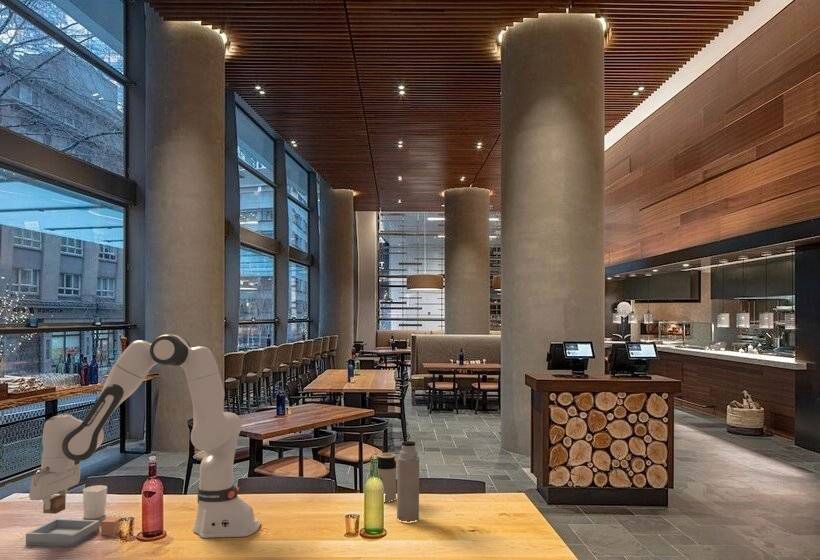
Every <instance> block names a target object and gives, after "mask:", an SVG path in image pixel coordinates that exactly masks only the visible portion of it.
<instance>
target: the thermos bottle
mask: <svg viewBox="0 0 820 560" xmlns="http://www.w3.org/2000/svg"><path fill="white" fill-rule="evenodd" d="M401 445H402V446H401V450H400V451H399V454H398V455H399V456H397V462H396V520H397V519H399V520H401V521H407V522H410V521H415V520H418V519H420V515H419V514H420V457H419V456H418V454H419V453H418V451H417V450H416V442H415V441H412V440H411V441H410V440H409V441H406V440H405V441H403V442H402V443H401Z"/></svg>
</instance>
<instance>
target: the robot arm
mask: <svg viewBox="0 0 820 560" xmlns="http://www.w3.org/2000/svg"><path fill="white" fill-rule="evenodd" d="M157 364H158V365H160V366H165V367H175V366H176V367H178V366H179V367H181V368H182V369H183V371H184V373H185V377H186V381H187V385H188V389H189V390H188V391H189V393H190V398H191V402H192V416H193V417H192V419H193V421H192V429H191V432H190V441H191V444H192V445H193V446H194V448H195V449H197V450H199V451H203V452H204V454H203V458H202V460H201V462H200V465H199V485H198V486H199V487H197V513H196V518H195V523H194V525H193V529H192V531H193V532H194V533H195V534H197V535H199V537H200V538H202V539H205V538H206V539H207V538H234V537H235V538H237V537H238V538H239V537H240V538H241V537H243V538H244V537H247V536H251V535H253V534H254V533H256V532H257V531H258V530H259V529H260V528H259V527H261V526H260V525H261V524H262V523H261V520H259V519H255V513H254V509H253V508H252V506H251V505H250V504H248V503H247V502H245V501H244V499H242V498H241V497H239V496H238V494H239V493H238V491H239V490H240V486H238V487H235V486H234V484H233V482H234V481H233V480H234V479H233V478H234V477H233V474H234V461H235V455H236V451H237V445H238V440H239V435H240V433H241V430H242V428H243V424H242V423H243V422H242V420H241V418H240V416H239V415H238V414H237V413H234V412H229V411H224V399H225V395H226V392H225V389H224V385H223V381H222V377H221V375H220V370H219V367H218V365H217V361H216V359H215V357H214V354H213V352H212V351H211V349H210V348H208V347H207V346H202V345H201V346H194V347H191V345H190V343H189V342H188V341H187V339H186V338H184V337H183V336H179V335H177V334H168V333H167V334H166V333H165V334H162V335H158V336H157V337H156V338H155V339H154V340H153V341H152V342H151V343H150V342H149V341H146V340H143V339H140V340H139V339H137V340H134V341H132V342H131V343H130V344H129V345H128V346H126V348H125V350H124V351H122V353H121V354H120V356H119V357H118V358H117V360H116V361H115V363H114V364H113V366H112V367H111V370H110V371H109V373H108V375H107V378H106V379H105V382H104V384H103V387H102V389H101V391H100V393H99V395H98V398H97V400H96V401H95V403H94V404H93V406H92V407H91V409H90V410H89V411H88V413H87V415H86V416H85V417H84V419H83V420H81V419H78V418H76V417H75V416H73V415H72V414H69V413H63V414H59V415H55V416H54V415H53V416H52V417H50V418H48V419H47V420H46V421H45V423H44V425H43V432H42V440H41V441H42V442H41V443H42V448H43V450H42V453H41V460H40V461H41V463H40V464H41V467H40V469H38V470H36V473H34V475H33V476H32V479H31V482H30V487H29V494H28V495H29V496H28V497H29V499H30V500H31V501H38V502H39V501H42V503H43V505H44V504H45V507H44V508H45V510H49V509H51V508H52V505H53V503H51V502H50V499H51V496H52V495H55V494H56V495H57V494H58V493H59V494H58V495H61V496H67V493H68V489H70V488H72V487H74V486H76V485H78V484H79V483H80V480H81V465H80V464H82V461H86V460H88V459H90V458H91V457H92V456H93V455H94V453H95V452H96V450H97V449H98V448H99V447H100V446H101V445H102V443H103V441H104V438H105V431H104V429H103V428H104V427H105V425H106V423H107V422H108V420H109V419H110V417H112V414H113V413H114V411H115V410H116V409H117V408H118V407H119V406H120V405H121V404H122V403H123V402H124V401H126V400H127V399H128V398H130V396H132V395H133V394H134V393H135V392H136V391H137V390H138V388H139V387H140V386H141V385H142V383H143V382H144V380H145V378H146V377H147V376H148V374H149V372H150V371H151V369H152V368H153V367H155V366H156V365H157Z"/></svg>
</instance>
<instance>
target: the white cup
mask: <svg viewBox="0 0 820 560" xmlns="http://www.w3.org/2000/svg"><path fill="white" fill-rule="evenodd" d="M107 495H108V486H107V485H104V484H103V485H99V484H97V485H91V486H87V487H85V488H83V489H82V499H83V500H82V506H83V519H85V520H96V519H99V518H102V517H103V516H105V514H106V504H107Z"/></svg>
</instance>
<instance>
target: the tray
mask: <svg viewBox="0 0 820 560" xmlns="http://www.w3.org/2000/svg"><path fill="white" fill-rule="evenodd" d="M100 522H101V520H97V519H71V518H54V519H52V520H50V521H48V522H46V523H45V524H42V525H39V527H36V528H34V529H32V530H31V531H28V532H26V533H25V545H26V546H48V547H69V548H74V547H75V546H76V545H78V544H80V543H82V542H83V541H85V540H87V539H88V538H90V537H91V536H93V535H95V534H96V533H98V532H99V531H100Z"/></svg>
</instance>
